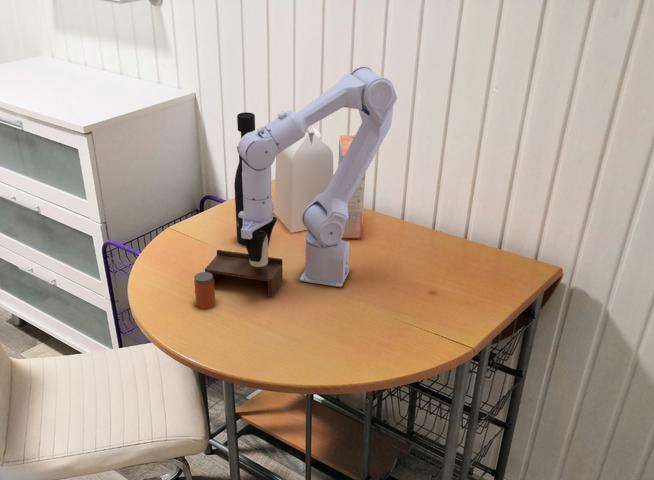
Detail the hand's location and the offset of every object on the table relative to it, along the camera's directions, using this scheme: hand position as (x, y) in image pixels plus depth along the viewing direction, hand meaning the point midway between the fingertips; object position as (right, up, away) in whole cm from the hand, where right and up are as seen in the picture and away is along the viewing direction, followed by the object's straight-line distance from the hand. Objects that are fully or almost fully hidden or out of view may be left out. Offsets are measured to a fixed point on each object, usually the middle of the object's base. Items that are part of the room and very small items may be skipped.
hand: (258, 255), depth 155 cm
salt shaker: (0, -1, +1) cm, 2 cm away
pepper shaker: (-11, -10, -1) cm, 15 cm away
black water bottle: (-3, +7, +23) cm, 24 cm away
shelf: (-3, -5, +5) cm, 8 cm away
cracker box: (+21, +11, +28) cm, 37 cm away
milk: (+10, +14, +32) cm, 36 cm away
